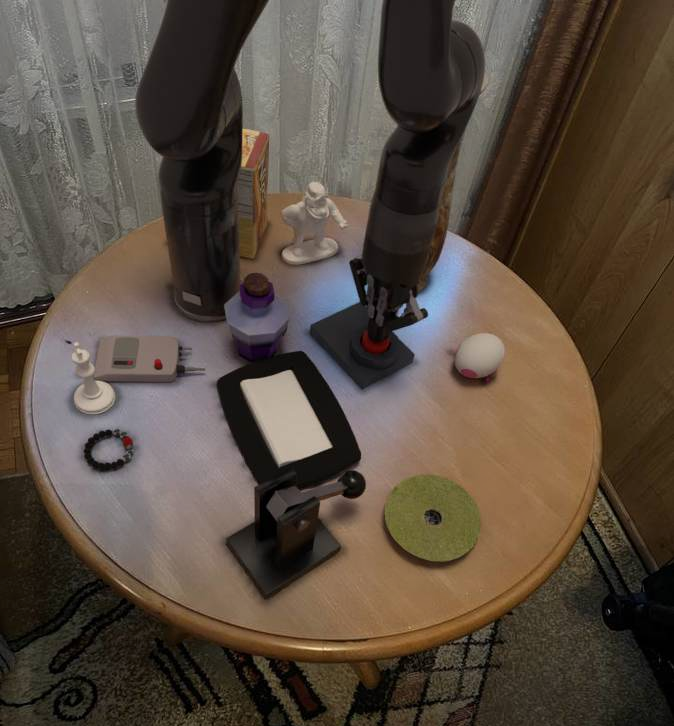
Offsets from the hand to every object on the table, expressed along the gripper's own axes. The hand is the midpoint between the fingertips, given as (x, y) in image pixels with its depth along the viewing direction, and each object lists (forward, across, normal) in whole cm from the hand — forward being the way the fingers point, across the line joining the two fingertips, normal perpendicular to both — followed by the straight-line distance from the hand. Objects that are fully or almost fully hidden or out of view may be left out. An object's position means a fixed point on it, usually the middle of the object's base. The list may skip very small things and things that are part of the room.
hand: (376, 338), depth 86 cm
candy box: (+4, +30, +1) cm, 30 cm away
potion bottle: (+4, +10, +12) cm, 16 cm away
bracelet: (+4, +5, +36) cm, 37 cm away
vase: (+4, +11, -15) cm, 19 cm away
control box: (+4, +3, 0) cm, 5 cm away
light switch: (+4, -3, +16) cm, 17 cm away
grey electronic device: (+4, +16, +26) cm, 31 cm away
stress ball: (+4, -8, -11) cm, 15 cm away
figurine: (+4, +22, -5) cm, 23 cm away
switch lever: (-2, -17, +22) cm, 28 cm away
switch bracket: (+4, -17, +26) cm, 31 cm away
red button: (+2, 0, 0) cm, 2 cm away
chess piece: (+4, +13, +34) cm, 37 cm away
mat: (+4, -24, +10) cm, 26 cm away
